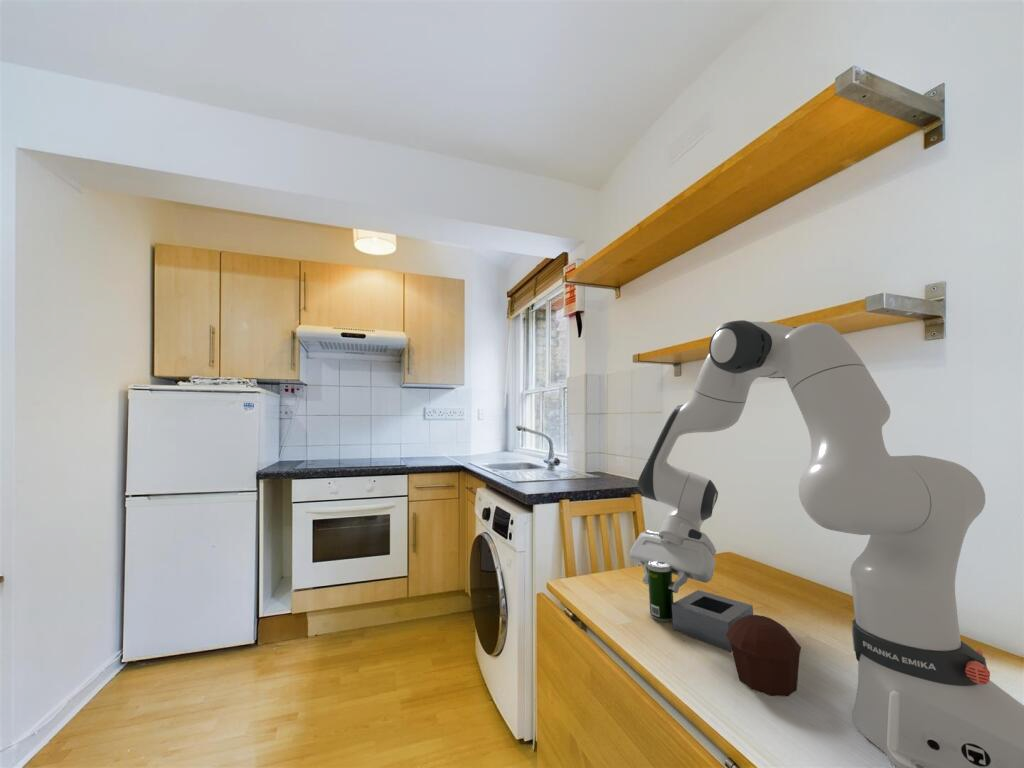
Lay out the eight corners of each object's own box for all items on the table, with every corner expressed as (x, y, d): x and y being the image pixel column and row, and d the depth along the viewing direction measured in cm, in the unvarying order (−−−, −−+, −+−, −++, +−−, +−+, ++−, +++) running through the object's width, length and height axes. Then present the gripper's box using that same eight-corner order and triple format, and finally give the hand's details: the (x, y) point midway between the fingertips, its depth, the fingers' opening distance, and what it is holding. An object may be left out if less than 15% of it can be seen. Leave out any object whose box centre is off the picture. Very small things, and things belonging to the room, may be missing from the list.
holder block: (754, 632, 88) (752, 605, 89) (730, 652, 81) (728, 622, 82) (699, 614, 98) (698, 589, 98) (673, 630, 90) (671, 603, 91)
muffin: (737, 655, 80) (732, 601, 81) (807, 676, 73) (801, 616, 74) (722, 685, 70) (718, 623, 72) (801, 712, 64) (794, 643, 65)
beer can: (668, 624, 93) (664, 569, 94) (646, 617, 97) (643, 564, 98) (678, 617, 96) (675, 563, 98) (657, 610, 100) (654, 558, 102)
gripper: (636, 522, 111) (616, 568, 104) (713, 536, 95) (695, 591, 88) (647, 536, 113) (627, 582, 106) (723, 552, 98) (706, 607, 90)
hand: (659, 587), depth 97 cm, fingers closed on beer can, 5 cm apart
